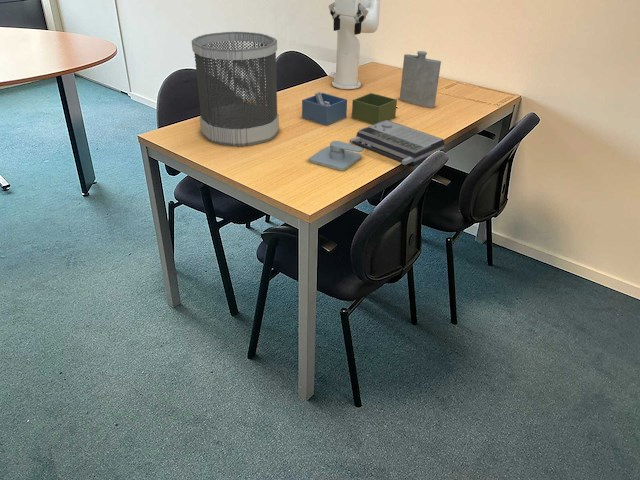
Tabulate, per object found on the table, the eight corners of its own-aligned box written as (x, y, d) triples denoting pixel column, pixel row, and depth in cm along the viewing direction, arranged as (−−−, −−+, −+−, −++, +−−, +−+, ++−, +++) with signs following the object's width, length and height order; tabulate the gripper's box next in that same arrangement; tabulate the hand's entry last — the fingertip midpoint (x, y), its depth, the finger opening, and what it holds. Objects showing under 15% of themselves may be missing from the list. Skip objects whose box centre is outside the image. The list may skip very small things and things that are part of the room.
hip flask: (436, 106, 208) (443, 54, 197) (430, 109, 205) (437, 56, 195) (402, 97, 217) (407, 47, 206) (396, 99, 214) (402, 48, 203)
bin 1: (301, 118, 193) (302, 99, 190) (321, 110, 201) (322, 92, 197) (326, 125, 187) (327, 107, 184) (346, 117, 195) (347, 99, 191)
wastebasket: (220, 151, 166) (212, 53, 150) (192, 126, 184) (181, 36, 168) (290, 137, 177) (289, 44, 161) (257, 114, 195) (253, 29, 179)
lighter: (331, 116, 193) (332, 95, 189) (328, 117, 192) (329, 96, 187) (317, 112, 197) (317, 91, 192) (314, 113, 196) (314, 92, 191)
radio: (446, 136, 167) (407, 153, 155) (443, 152, 170) (405, 169, 158) (386, 116, 181) (347, 130, 169) (385, 131, 184) (346, 146, 172)
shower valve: (352, 156, 152) (308, 144, 158) (351, 173, 155) (308, 161, 161) (371, 142, 161) (328, 132, 167) (369, 159, 164) (328, 148, 170)
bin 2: (351, 118, 195) (352, 100, 191) (369, 110, 202) (370, 92, 199) (377, 125, 189) (379, 107, 185) (395, 117, 196) (397, 99, 193)
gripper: (375, -17, 186) (371, 34, 195) (336, -22, 195) (334, 27, 204) (363, -15, 181) (359, 37, 190) (323, -20, 190) (322, 30, 199)
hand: (346, 32), depth 197 cm, fingers open, 9 cm apart
